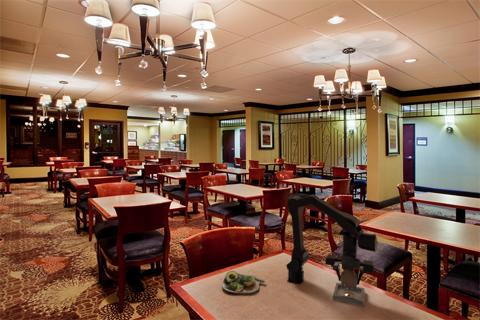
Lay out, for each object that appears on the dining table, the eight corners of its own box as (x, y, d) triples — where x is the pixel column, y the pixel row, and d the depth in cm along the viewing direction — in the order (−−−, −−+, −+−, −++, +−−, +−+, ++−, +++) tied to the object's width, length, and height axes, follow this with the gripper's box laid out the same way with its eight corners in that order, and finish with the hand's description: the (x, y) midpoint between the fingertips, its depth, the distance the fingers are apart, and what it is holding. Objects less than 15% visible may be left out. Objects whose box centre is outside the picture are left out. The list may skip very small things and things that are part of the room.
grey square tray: (332, 299, 117) (332, 295, 117) (335, 286, 128) (335, 282, 128) (363, 307, 112) (363, 302, 112) (364, 292, 123) (364, 288, 123)
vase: (359, 292, 116) (359, 271, 115) (341, 291, 117) (341, 270, 117) (355, 284, 122) (355, 264, 122) (339, 283, 124) (339, 263, 123)
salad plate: (264, 276, 138) (264, 267, 138) (265, 296, 121) (265, 286, 120) (225, 275, 140) (225, 266, 139) (220, 295, 122) (220, 284, 122)
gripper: (323, 249, 116) (322, 286, 117) (374, 257, 108) (372, 297, 108) (327, 240, 126) (327, 275, 127) (374, 247, 118) (373, 284, 119)
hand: (348, 282), depth 120 cm, fingers closed on vase, 7 cm apart
